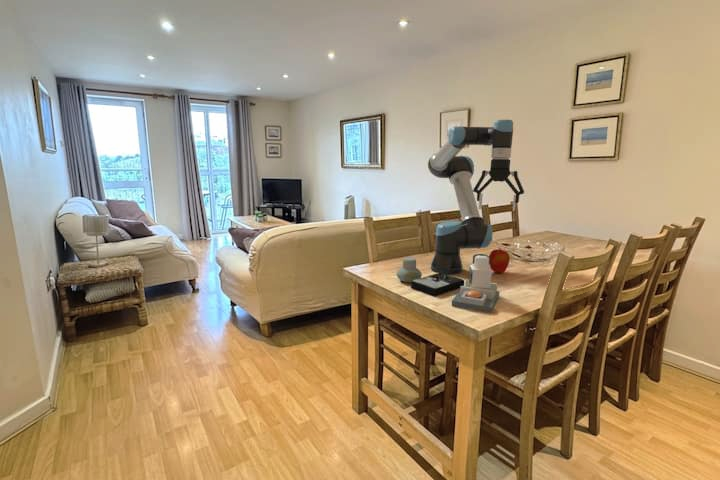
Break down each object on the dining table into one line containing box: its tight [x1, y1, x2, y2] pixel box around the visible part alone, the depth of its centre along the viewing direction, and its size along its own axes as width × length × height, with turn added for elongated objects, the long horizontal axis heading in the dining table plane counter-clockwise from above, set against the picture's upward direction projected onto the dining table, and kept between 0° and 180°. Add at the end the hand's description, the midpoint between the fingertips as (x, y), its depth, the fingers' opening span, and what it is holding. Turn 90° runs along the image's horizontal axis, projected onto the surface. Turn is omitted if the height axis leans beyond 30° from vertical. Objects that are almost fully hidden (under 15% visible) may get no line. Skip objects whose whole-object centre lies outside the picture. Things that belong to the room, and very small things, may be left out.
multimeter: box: [410, 272, 465, 298], centre depth 157 cm, size 13×19×5 cm
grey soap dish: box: [451, 278, 500, 314], centre depth 142 cm, size 14×19×5 cm
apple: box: [488, 248, 511, 274], centre depth 178 cm, size 9×9×12 cm
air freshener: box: [396, 257, 422, 284], centre depth 165 cm, size 11×8×10 cm
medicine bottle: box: [468, 253, 493, 288], centre depth 144 cm, size 7×7×12 cm
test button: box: [467, 290, 481, 299], centre depth 137 cm, size 5×5×2 cm
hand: (496, 209), depth 160 cm, fingers open, 13 cm apart
